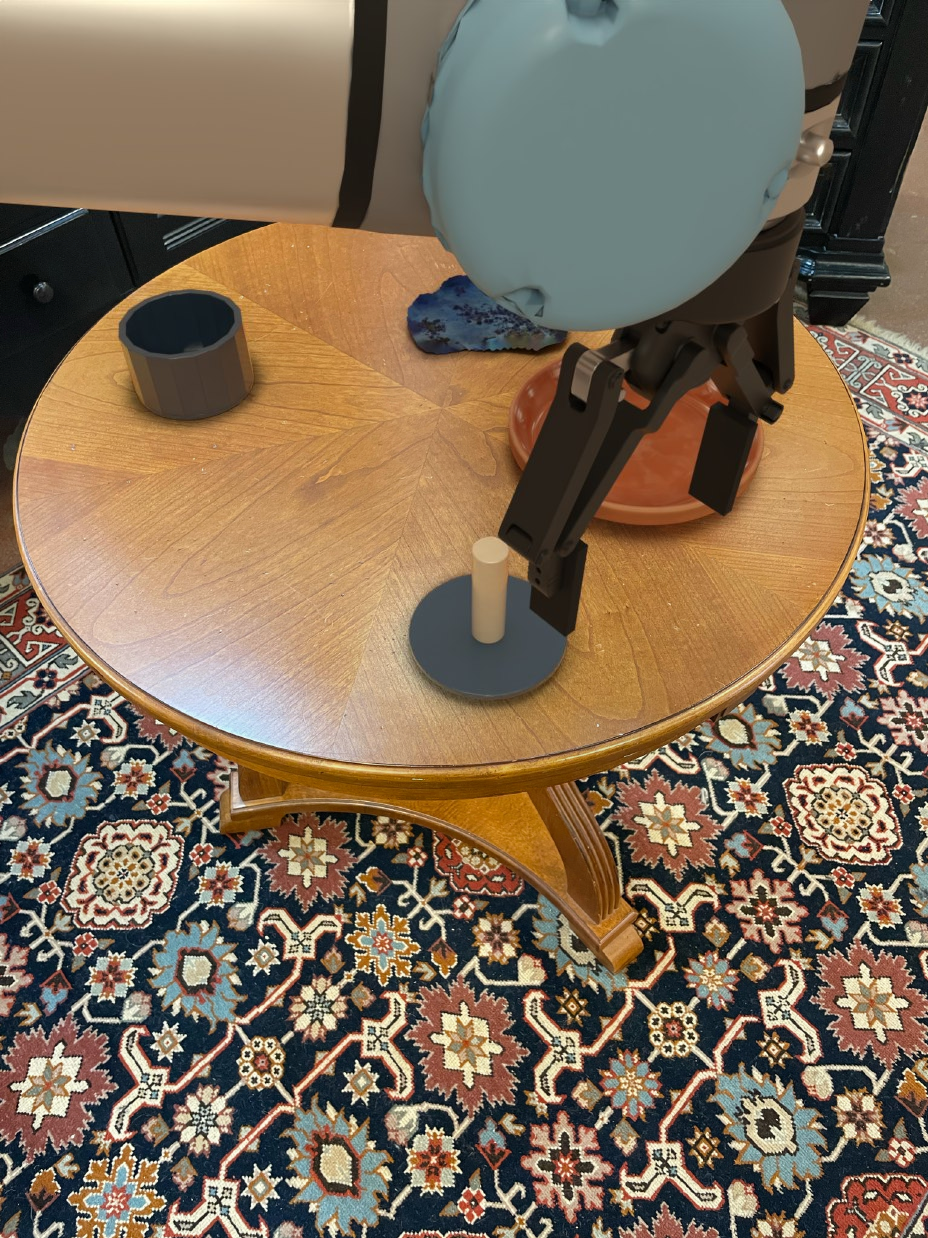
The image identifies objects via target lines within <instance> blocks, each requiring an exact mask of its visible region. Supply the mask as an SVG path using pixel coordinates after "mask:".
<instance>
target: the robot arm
mask: <svg viewBox="0 0 928 1238" xmlns="http://www.w3.org/2000/svg"><path fill="white" fill-rule="evenodd" d="M871 1H872V0H0V203H1V204H14V205H27V206H28V205H29V206H41V207H58V208H71V209H82V210H83V209H84V210H98V211H112V212H114V211H115V212H127V213H139V214H152V215H153V214H155V215H169V216H183V217H196V218H209V219H222V220H223V219H224V220H225V219H226V220H238V221H239V220H240V221H251V222H252V221H253V222H269V223H281V224H295V225H309V226H311V225H312V226H322V227H323V226H324V227H329V228H335V229H346V230H348V229H349V230H357V231H358V230H359V231H363V232H371V233H376V234H382V235H383V234H384V235H385V234H386V235H397V236H398V235H400V236H412V237H426V238H427V237H428V238H436V239H438V242H440V245H441V246H442V247H443V249H444V251H446V252H448V253H450V254H453V256H454V258H455V260H456V261H457V264H458V265H459V266H460V268H461V270H462V272H464V274H465V275H467V276H468V277H469V279H470V280H471V281H472V282H473V283H474V284H475V285H476V286H477V288H479V289H480V290H481V291H482V292H484V293H485V294H486V295H488V296H489V297H490V298H492V299H493V300H494V301H495V302H497V303H498V304H499V305H501V306H502V307H504V308H506V309H508V310H509V311H511V312H513V313H515V314H517V315H519V316H521V317H524V318H527V319H529V320H530V321H531V322H532V323H534V324H537V325H540V326H543V327H546V328H550V329H557V330H564V331H568V332H578V333H582V332H584V333H594V332H595V333H596V332H603V331H613V333H612V336H611V338H610V341H609V343H607V344H605V345H603V346H601V347H597V348H598V349H596V350H591V349H592V348H589V347H588V346H586V345H584V344H582V343H581V342H579V341H575V342H573V343H571V344H570V345H569V346H568V347H567V348H566V349H565V350H564V351H565V352H564V353H563V355H562V356H563V358H562V363H561V368H560V373H559V379H558V384H557V389H556V394H555V397H554V399H553V401H552V404H551V406H550V409H549V411H548V413H547V416H546V418H545V421H544V423H543V425H542V428H541V430H540V433H539V435H538V437H537V440H536V442H535V444H534V447H533V449H532V452H531V454H530V456H529V459H528V461H527V464H526V466H525V468H524V471H522V473H521V476H520V478H519V480H518V483H517V486H516V488H515V489H514V492H513V495H512V497H511V499H510V502H509V505H508V506H507V508H506V511H505V514H504V516H503V518H502V521H501V524H500V526H499V527H498V530H497V538H499V539H500V540H502V541H503V542H504V543H506V544H507V545H508V547H509V548H511V550H513V551H515V553H517V554H518V555H520V556H521V557H522V558H523V559H525V560H526V561H528V563H527V564H528V565H527V576H526V578H527V581H528V582H529V583H530V584H531V595H530V605H529V609H530V610H532V611H533V612H534V613H535V614H537V615H538V616H539V617H540V618H542V619H543V620H544V621H545V622H547V623H548V624H549V625H550V626H552V627H553V628H554V629H555V630H557V631H558V632H559V633H560V634H562V635H563V636H564V637H566V636H567V637H569V635H571V634H572V633H573V632H574V631H576V627H577V626H576V625H577V621H578V620H577V619H578V613H579V606H580V601H581V596H582V595H581V594H582V587H583V582H584V575H585V569H586V563H587V557H588V549H589V544H588V543H586V542H585V541H583V539H581V538H582V537H583V535H584V534H585V532H586V530H587V529H588V527H589V526H590V524H591V522H592V520H593V519H594V518H595V517H594V516H595V514H596V512H597V511H598V509H599V507H600V506H601V504H602V503H603V501H604V499H605V498H606V496H607V494H608V493H609V491H610V490H611V488H612V486H613V485H614V483H615V481H616V480H617V478H618V477H619V475H620V473H621V472H622V470H623V468H624V467H625V465H626V464H627V462H628V460H629V459H630V457H631V455H632V454H633V452H634V451H635V449H636V447H637V446H638V444H639V442H640V441H641V439H642V438H643V436H644V435H646V434H651V433H655V432H657V431H658V430H659V429H660V427H661V426H662V424H663V422H664V421H665V419H666V418H667V416H668V414H669V413H670V411H671V410H672V408H673V406H674V405H675V403H676V402H677V401H678V400H679V399H680V398H682V397H683V396H684V395H685V394H686V393H687V392H688V391H689V390H691V389H694V388H697V387H700V386H701V385H703V384H704V383H706V382H707V381H709V380H710V378H711V380H712V381H713V383H714V384H715V386H716V387H717V389H718V390H719V392H720V393H721V395H722V396H723V397H724V398H725V399H727V400H729V402H728V406H727V405H725V404H723V403H721V402H720V401H718V402H716V403H715V404H713V405H712V406H710V409H709V413H708V417H707V421H706V425H705V429H704V433H703V436H702V440H701V444H700V448H699V452H698V456H697V460H696V464H695V468H694V471H693V475H692V479H691V483H690V487H689V491H688V494H690V495H691V496H693V497H694V498H696V499H697V500H699V501H700V502H702V503H703V504H705V505H707V506H708V507H710V508H711V509H713V510H714V511H716V512H715V513H717V514H719V515H720V516H722V517H725V516H727V515H728V514H729V513H731V512H732V510H733V507H734V504H735V501H736V499H737V498H736V494H737V491H738V488H739V485H740V482H741V478H742V475H743V472H744V469H745V465H746V462H747V459H748V456H749V453H750V449H751V446H752V443H753V440H754V437H755V433H756V430H757V427H758V423H757V421H758V418H760V419H761V421H764V422H765V423H767V424H769V425H770V426H772V425H774V424H776V422H777V421H778V420H779V419H780V418H781V416H782V414H783V412H784V409H785V405H784V404H782V403H781V402H779V401H776V400H775V399H773V398H772V397H773V395H774V394H776V393H777V394H780V395H786V393H788V391H789V390H791V389H792V387H793V385H794V381H795V379H796V365H795V363H796V362H795V361H796V360H795V359H796V358H795V323H794V322H795V321H794V319H795V318H794V293H795V290H796V285H797V281H798V278H799V273H800V269H801V265H802V261H801V259H800V258H798V257H796V254H797V251H798V248H799V244H800V241H801V237H802V234H803V232H804V228H805V224H806V219H807V214H806V210H805V206H804V205H805V204H806V203H808V202H809V200H810V198H811V197H812V195H813V192H814V190H815V186H816V182H817V179H818V175H819V173H820V169H821V167H823V166H824V165H826V164H827V163H829V161H830V160H831V158H832V155H833V153H834V147H835V146H834V142H833V140H832V139H830V136H831V131H832V129H833V125H834V121H835V118H836V115H837V112H838V107H839V105H840V101H841V98H842V97H841V96H842V91H843V90H844V88H845V86H846V81H847V77H848V74H849V70H850V68H851V67H852V63H853V59H854V57H855V54H856V50H857V46H858V42H859V41H860V37H861V34H862V31H863V27H864V24H865V20H866V17H867V14H868V11H869V8H870V4H871ZM624 379H625V381H626V382H627V384H628V385H629V387H630V388H631V389H632V390H633V391H634V392H635V393H637V394H639V395H640V396H642V397H644V398H645V399H647V400H649V401H650V404H649V406H648V407H647V408H646V409H643V410H642V409H640V408H638V407H637V406H635V405H634V404H632V403H630V402H629V401H627V400H625V399H624V398H625V396H626V390H625V389H624V388H622V384H623V380H624ZM735 498H736V499H735Z"/></svg>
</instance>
